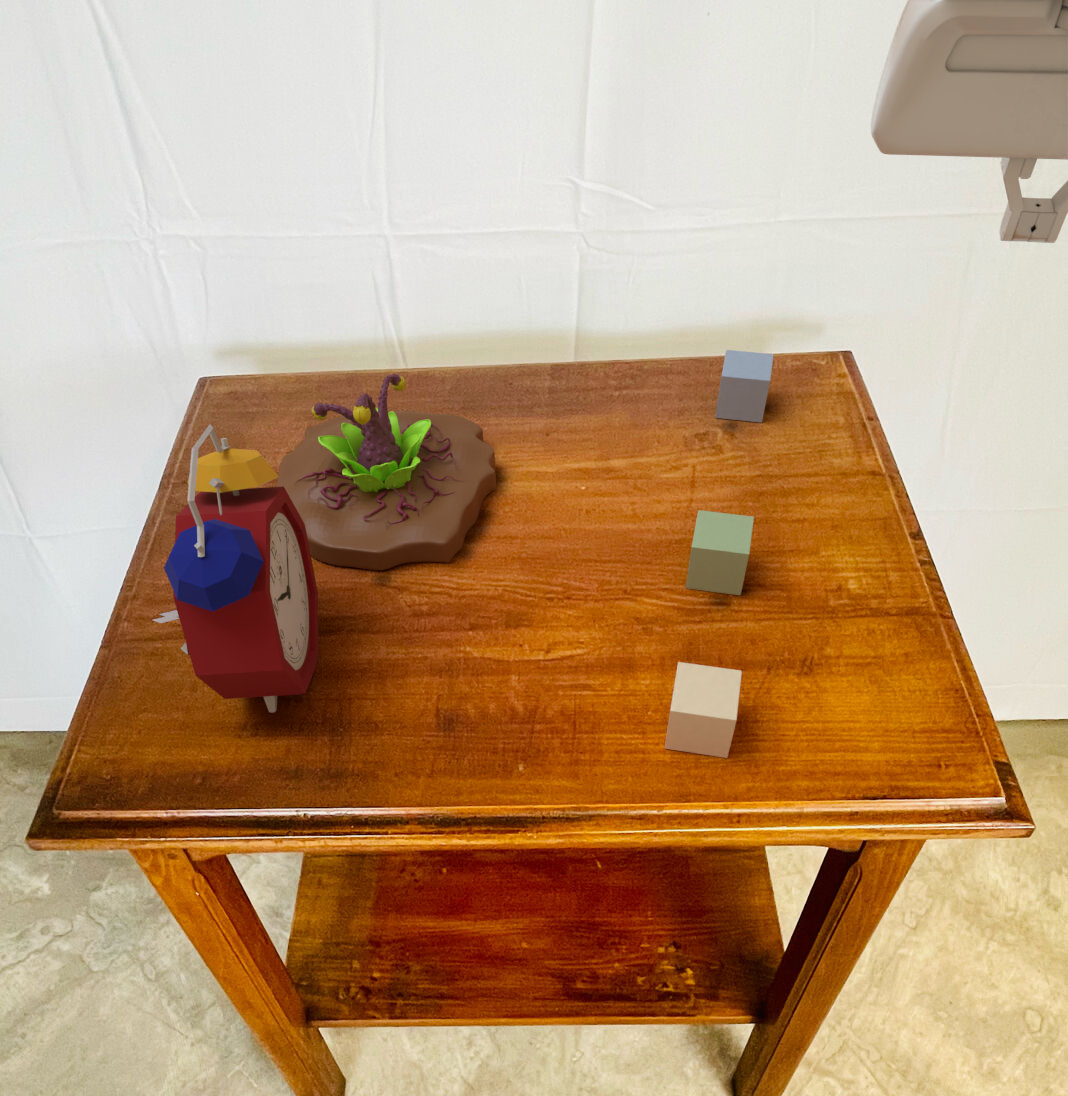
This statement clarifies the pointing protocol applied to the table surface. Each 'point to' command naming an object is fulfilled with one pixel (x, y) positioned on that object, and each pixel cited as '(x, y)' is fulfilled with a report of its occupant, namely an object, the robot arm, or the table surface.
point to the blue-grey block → (744, 386)
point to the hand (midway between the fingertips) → (1025, 237)
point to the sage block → (719, 552)
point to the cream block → (703, 709)
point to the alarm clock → (243, 579)
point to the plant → (387, 483)
